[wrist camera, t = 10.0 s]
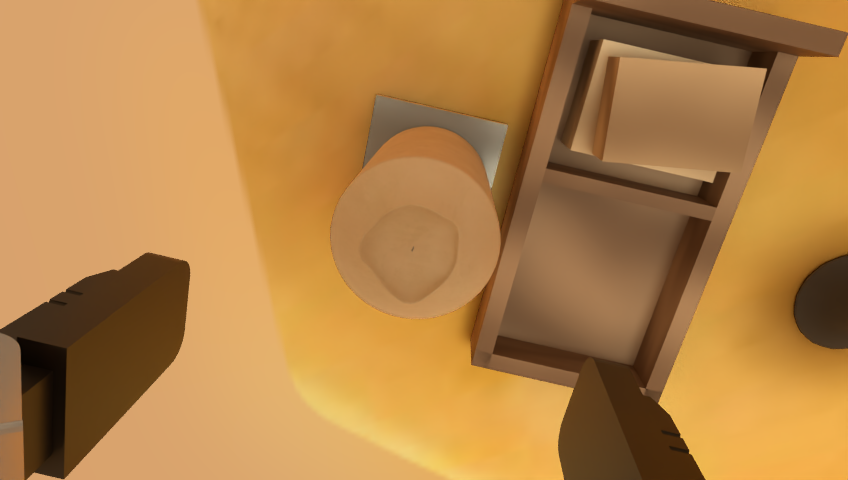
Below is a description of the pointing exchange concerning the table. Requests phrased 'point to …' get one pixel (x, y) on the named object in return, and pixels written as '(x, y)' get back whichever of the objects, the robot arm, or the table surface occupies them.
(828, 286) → the sundae
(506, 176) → the table surface
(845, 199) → the table surface
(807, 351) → the table surface
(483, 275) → the candle
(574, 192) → the tray
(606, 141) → the offcut upper
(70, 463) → the robot arm
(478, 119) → the coaster
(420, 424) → the table surface
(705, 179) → the offcut lower
